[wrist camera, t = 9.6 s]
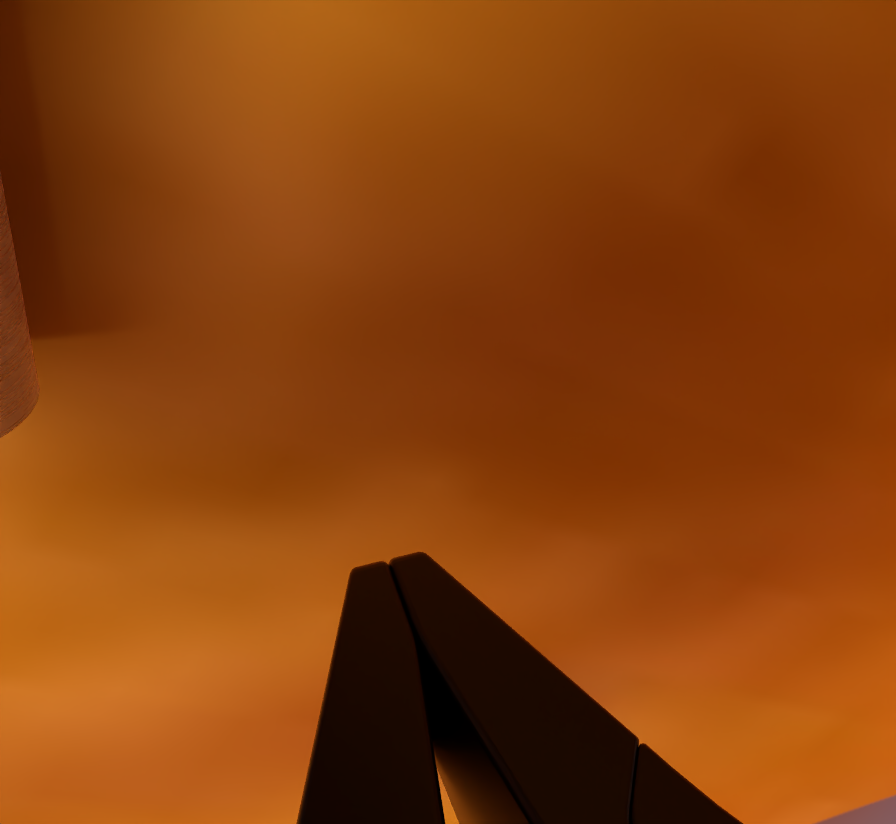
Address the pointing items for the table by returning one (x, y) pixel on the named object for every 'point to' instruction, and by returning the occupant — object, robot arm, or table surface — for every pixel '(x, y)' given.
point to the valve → (13, 336)
